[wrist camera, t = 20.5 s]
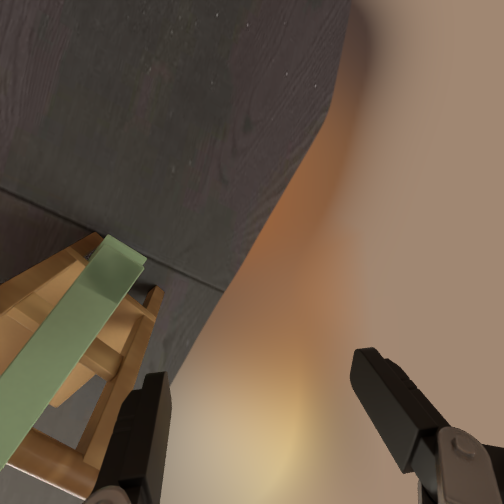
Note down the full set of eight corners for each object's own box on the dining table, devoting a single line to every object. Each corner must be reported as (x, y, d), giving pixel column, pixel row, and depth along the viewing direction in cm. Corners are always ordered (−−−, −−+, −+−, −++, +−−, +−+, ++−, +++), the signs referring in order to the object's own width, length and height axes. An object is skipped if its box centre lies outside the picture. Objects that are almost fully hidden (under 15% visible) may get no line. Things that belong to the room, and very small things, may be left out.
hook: (108, 234, 30) (96, 207, 14) (146, 258, 32) (178, 260, 15) (20, 346, 27) (-143, 497, 10) (69, 366, 29) (2, 521, 12)
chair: (168, 295, 38) (109, 494, 15) (88, 364, 39) (-85, 652, 16) (91, 227, 34) (-167, 359, 10) (4, 308, 35) (-407, 591, 11)
